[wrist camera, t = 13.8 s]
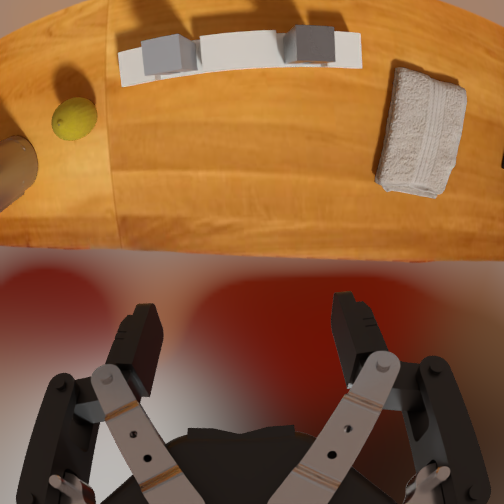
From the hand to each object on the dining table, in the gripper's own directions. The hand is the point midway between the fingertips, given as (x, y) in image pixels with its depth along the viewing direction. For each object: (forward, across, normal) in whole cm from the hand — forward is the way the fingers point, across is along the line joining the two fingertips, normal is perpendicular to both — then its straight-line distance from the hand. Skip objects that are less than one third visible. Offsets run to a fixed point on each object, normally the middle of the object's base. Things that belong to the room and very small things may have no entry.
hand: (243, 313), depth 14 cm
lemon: (+30, +21, -8) cm, 38 cm away
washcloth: (+31, -25, -2) cm, 40 cm away
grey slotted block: (+30, -7, -13) cm, 33 cm away
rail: (+30, 0, -13) cm, 33 cm away
